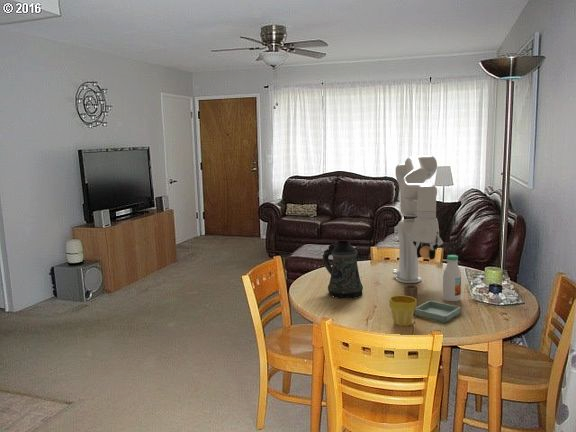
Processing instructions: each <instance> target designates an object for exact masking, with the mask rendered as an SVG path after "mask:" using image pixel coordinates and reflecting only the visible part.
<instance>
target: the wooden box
mask: <svg viewBox="0 0 576 432" xmlns="http://www.w3.org/2000/svg"><path fill="white" fill-rule="evenodd" d="M403 295H404V296H410V297H413V298H415V299H416V300H417V301H418V286H415V285H411V284H408V285H405V286H404V287H403Z"/></svg>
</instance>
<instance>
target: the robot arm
mask: <svg viewBox="0 0 576 432" xmlns="http://www.w3.org/2000/svg"><path fill="white" fill-rule="evenodd" d="M436 159H437V158H435V157H434V155H411V156H409V157H407V158H406V160H405V162H402V163H399V164H397V165H396V167H395V177H396V182H397V184H398V187H399V196H400V198H399V200H400V201H399V203H400V205H399V206H400V213H401V215H402V216H403V217H404V216H405V217H415V218H406V219H401V220H400V221H398V223H397V231H398V232H397V234H398V241H399V242H398V245H399V247H398V249H399V252H398V256H399V257H398V259H399V260H398V261H399V262H398V267H399V268H398V269H395V268H394V269H393V270H392V274H393V275H396V276H395V281H397V282H399V283H404V284H416V283H420V282H421V281H422V277H420V276H419V259H420V258H423V257H422V256H421V255H420V249H421V248H422V247H423V243H424V244H429V247H430V248H431V250H430V252H429V260H431V261H433V260H434V259H435V258H436V250H437V248H439V247H440V246H442V244H444V241H443V239H442V238H441V237H440V229H439V227H440V226H439V220H438V218H437V195H438V189H437V187H436V185H435V184H434V183H426V181H427V180H430V179H432V177H433V176H434V175H435V174H436V173H437V169H438V162H437V160H436Z"/></svg>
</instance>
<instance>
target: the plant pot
mask: <svg viewBox="0 0 576 432" xmlns="http://www.w3.org/2000/svg"><path fill="white" fill-rule="evenodd" d="M388 302H389V309H391V314H392V319H393V323H394V324H395V325H397V326H401V327H407V326H410V325H412V323H413V318H414V315H413V314H414V310H415V309H416V307H418V306H417V305H418V299H417V300H416V299H415V298H413V297H410V296H404V294H401V295H400V294H399V295H392V296H391V297H389V301H388Z"/></svg>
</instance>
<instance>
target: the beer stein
mask: <svg viewBox="0 0 576 432" xmlns="http://www.w3.org/2000/svg"><path fill="white" fill-rule="evenodd" d="M358 253H359V251H358V250H357V248H355V246H353V245H352V244H351V243H350V242H349V241H348V240H338V241H337V242H335V243H330V245H329V246H328V249H325V250H324V251H323V255H322V262H323V265H324V268H325V269H326V271H327V272H328V273H329V274H330V279H329V283H328V284H327V285H328V286H327V289H328V290H327V291H328V294H330V295H331V296H330V295H329V296H330V297H332V296H334V297H333V298H335V297H338V298H337V299H340V298H352V299H356V297H357V298H360V297H361V296H362V295H363V290H364V289H363V288H364V287H363V284H362V282H361V277H360V272H359V267H358V260H357V256H358ZM330 256H332V263H330V260H329V257H330ZM359 296H360V297H359Z"/></svg>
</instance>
